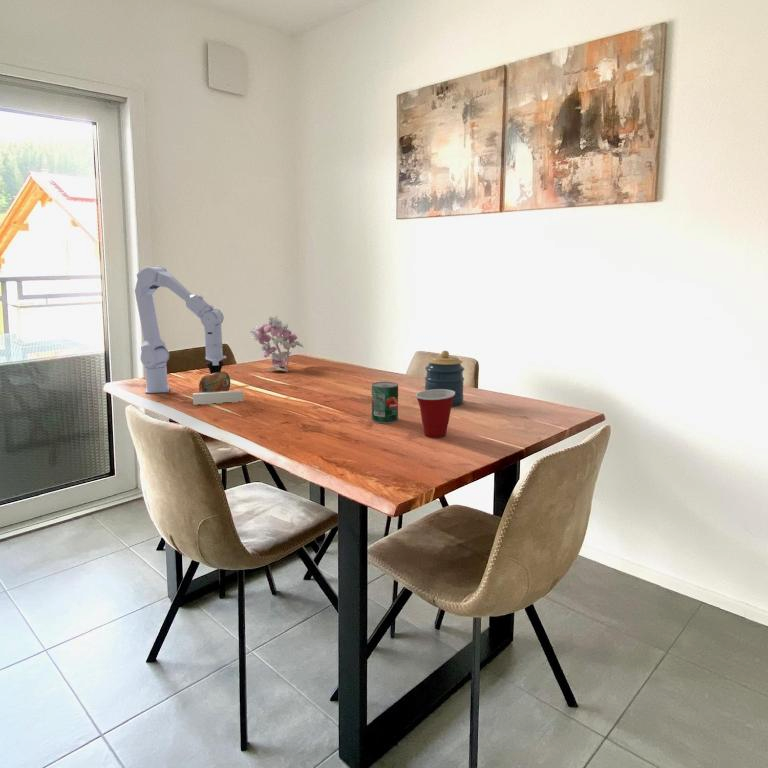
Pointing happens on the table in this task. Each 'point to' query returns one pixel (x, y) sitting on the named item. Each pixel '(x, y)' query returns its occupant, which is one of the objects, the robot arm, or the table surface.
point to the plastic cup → (435, 411)
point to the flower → (275, 341)
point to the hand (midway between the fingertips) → (215, 382)
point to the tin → (215, 382)
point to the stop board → (217, 397)
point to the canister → (446, 375)
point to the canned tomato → (384, 402)
